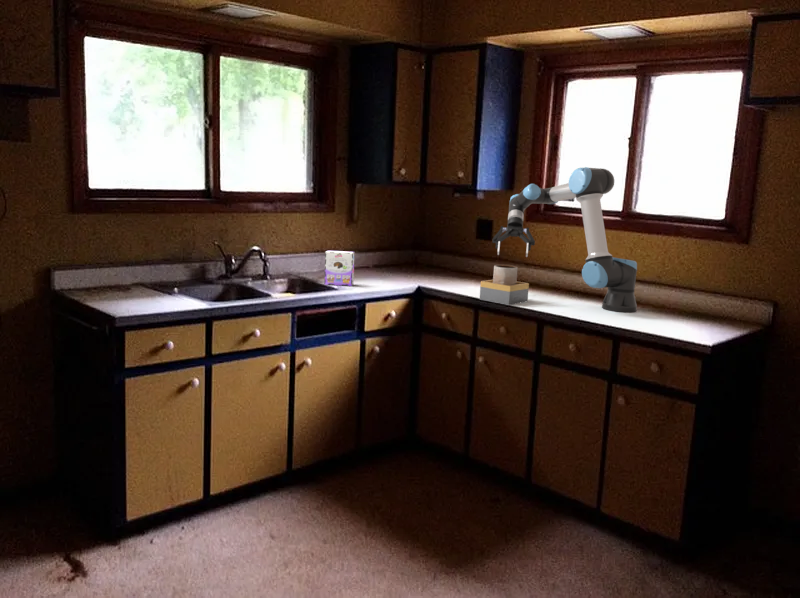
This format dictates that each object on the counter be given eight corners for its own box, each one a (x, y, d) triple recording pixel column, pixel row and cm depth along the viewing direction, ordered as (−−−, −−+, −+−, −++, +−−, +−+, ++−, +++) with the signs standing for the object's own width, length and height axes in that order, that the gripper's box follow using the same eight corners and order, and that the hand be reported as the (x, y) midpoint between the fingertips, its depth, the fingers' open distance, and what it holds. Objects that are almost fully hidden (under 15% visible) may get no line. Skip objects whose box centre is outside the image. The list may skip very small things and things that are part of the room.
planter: (498, 284, 352) (499, 264, 350) (519, 287, 347) (521, 266, 345) (488, 286, 343) (490, 266, 341) (510, 289, 338) (512, 268, 336)
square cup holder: (527, 301, 347) (529, 283, 345) (508, 304, 335) (510, 286, 333) (498, 296, 357) (500, 278, 355) (479, 299, 345) (480, 281, 344)
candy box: (353, 284, 368) (355, 251, 366) (351, 286, 363) (353, 252, 360) (326, 282, 370) (327, 249, 367) (323, 284, 364) (325, 251, 361)
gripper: (540, 227, 369) (538, 260, 357) (490, 224, 373) (486, 257, 361) (541, 217, 363) (539, 250, 351) (490, 214, 367) (486, 247, 355)
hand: (512, 254), depth 356 cm, fingers open, 13 cm apart
